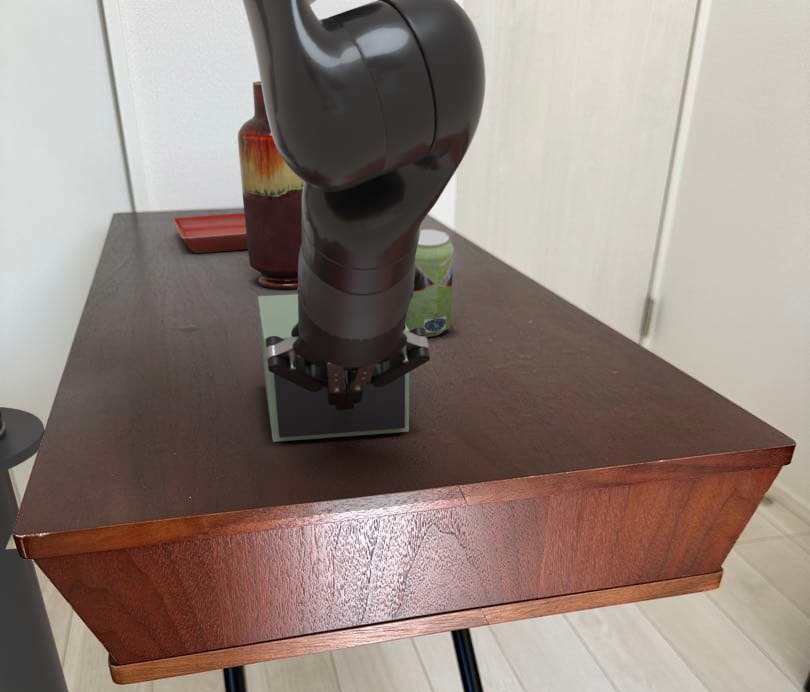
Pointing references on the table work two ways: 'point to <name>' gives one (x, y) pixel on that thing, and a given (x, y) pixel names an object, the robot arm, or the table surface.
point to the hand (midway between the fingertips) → (343, 399)
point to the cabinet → (279, 321)
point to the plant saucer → (213, 232)
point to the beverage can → (432, 284)
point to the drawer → (317, 416)
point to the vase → (269, 202)
